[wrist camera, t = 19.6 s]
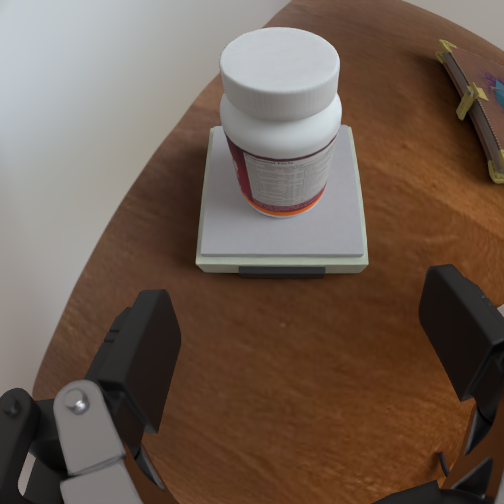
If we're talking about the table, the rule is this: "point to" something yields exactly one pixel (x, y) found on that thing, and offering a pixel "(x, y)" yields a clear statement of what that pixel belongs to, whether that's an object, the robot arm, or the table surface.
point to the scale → (281, 222)
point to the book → (479, 100)
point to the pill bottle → (280, 116)
